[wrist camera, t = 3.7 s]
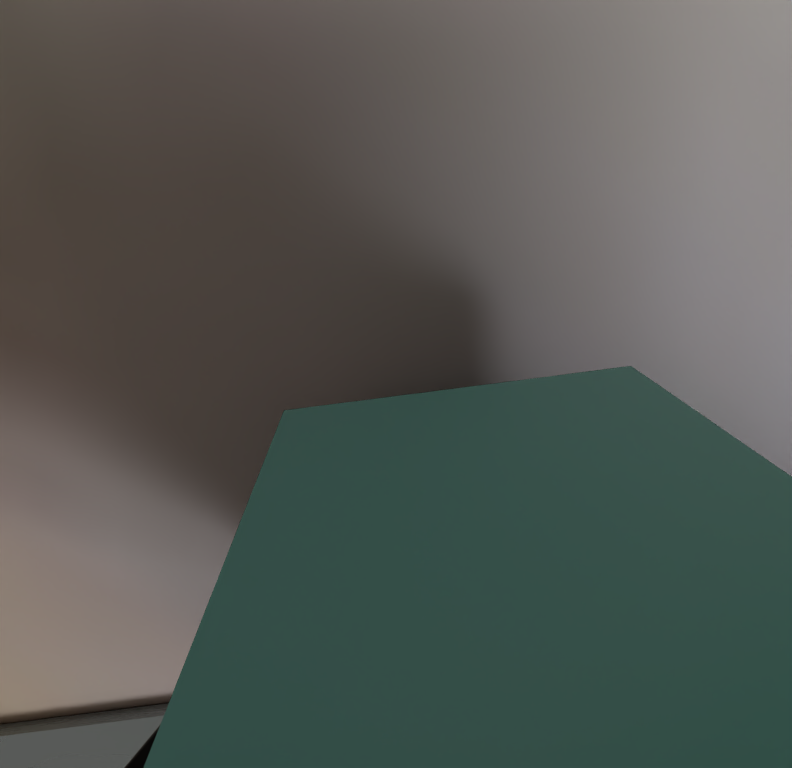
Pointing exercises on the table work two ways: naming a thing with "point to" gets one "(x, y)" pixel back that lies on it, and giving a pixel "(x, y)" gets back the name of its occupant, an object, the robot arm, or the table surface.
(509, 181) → the table surface
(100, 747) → the thin grey square plate
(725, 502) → the teal tilted cuboid
